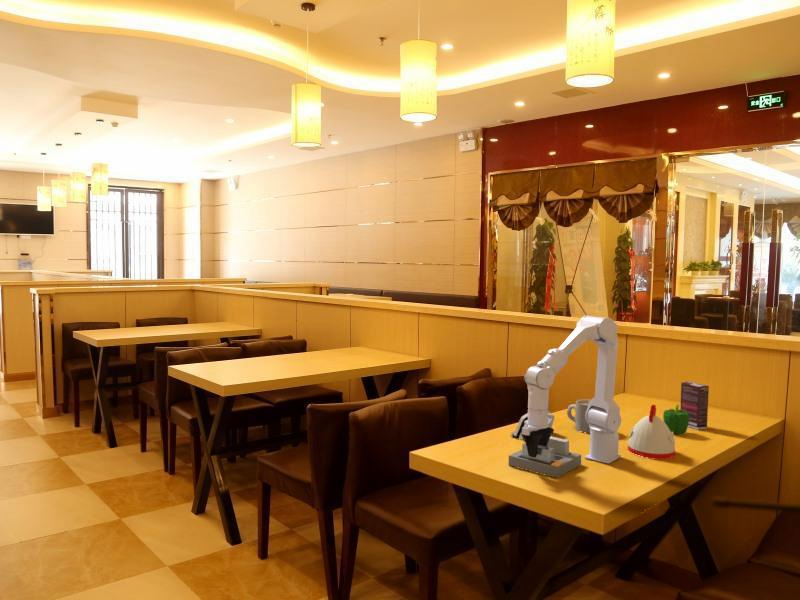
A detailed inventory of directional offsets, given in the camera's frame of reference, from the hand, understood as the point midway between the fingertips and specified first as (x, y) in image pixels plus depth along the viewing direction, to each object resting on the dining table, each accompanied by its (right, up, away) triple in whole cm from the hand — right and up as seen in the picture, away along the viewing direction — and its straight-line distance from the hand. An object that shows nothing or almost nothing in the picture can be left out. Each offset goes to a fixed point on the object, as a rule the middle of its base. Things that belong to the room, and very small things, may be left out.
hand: (537, 454), depth 180 cm
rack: (+3, -4, +4) cm, 7 cm away
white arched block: (+7, -2, +35) cm, 36 cm away
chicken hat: (+40, -4, +18) cm, 44 cm away
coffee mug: (+27, -2, +43) cm, 51 cm away
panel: (0, -5, 0) cm, 5 cm away
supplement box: (+68, -2, +48) cm, 83 cm away
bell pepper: (+58, -2, +39) cm, 70 cm away
